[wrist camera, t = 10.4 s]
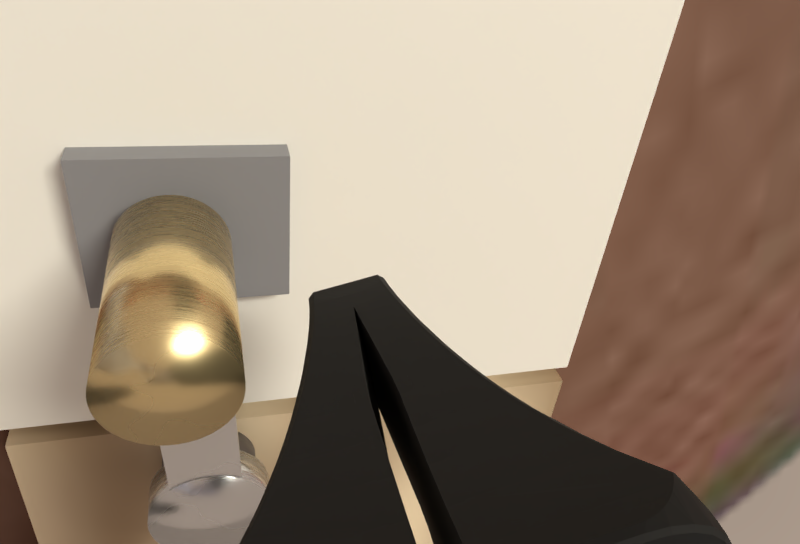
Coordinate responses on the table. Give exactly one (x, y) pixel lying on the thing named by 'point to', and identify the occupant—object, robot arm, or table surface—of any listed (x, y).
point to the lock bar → (177, 367)
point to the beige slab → (138, 463)
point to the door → (319, 166)
